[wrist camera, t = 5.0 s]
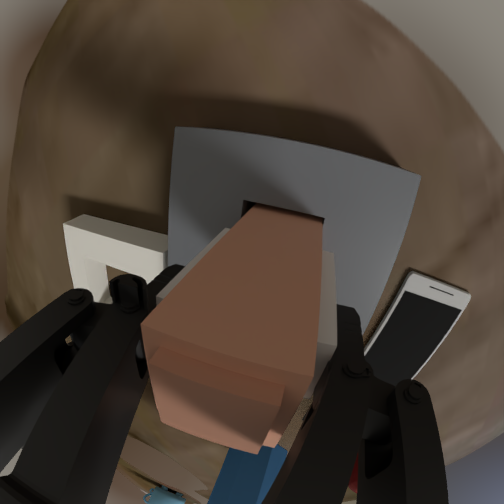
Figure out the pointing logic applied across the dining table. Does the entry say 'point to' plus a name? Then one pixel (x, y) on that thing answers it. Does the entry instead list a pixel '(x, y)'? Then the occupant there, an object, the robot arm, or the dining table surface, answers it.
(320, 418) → the robot arm
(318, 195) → the grey flat block
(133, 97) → the dining table surface
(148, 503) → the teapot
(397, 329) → the smartphone
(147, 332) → the plug
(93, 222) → the white square frame
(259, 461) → the water bottle
